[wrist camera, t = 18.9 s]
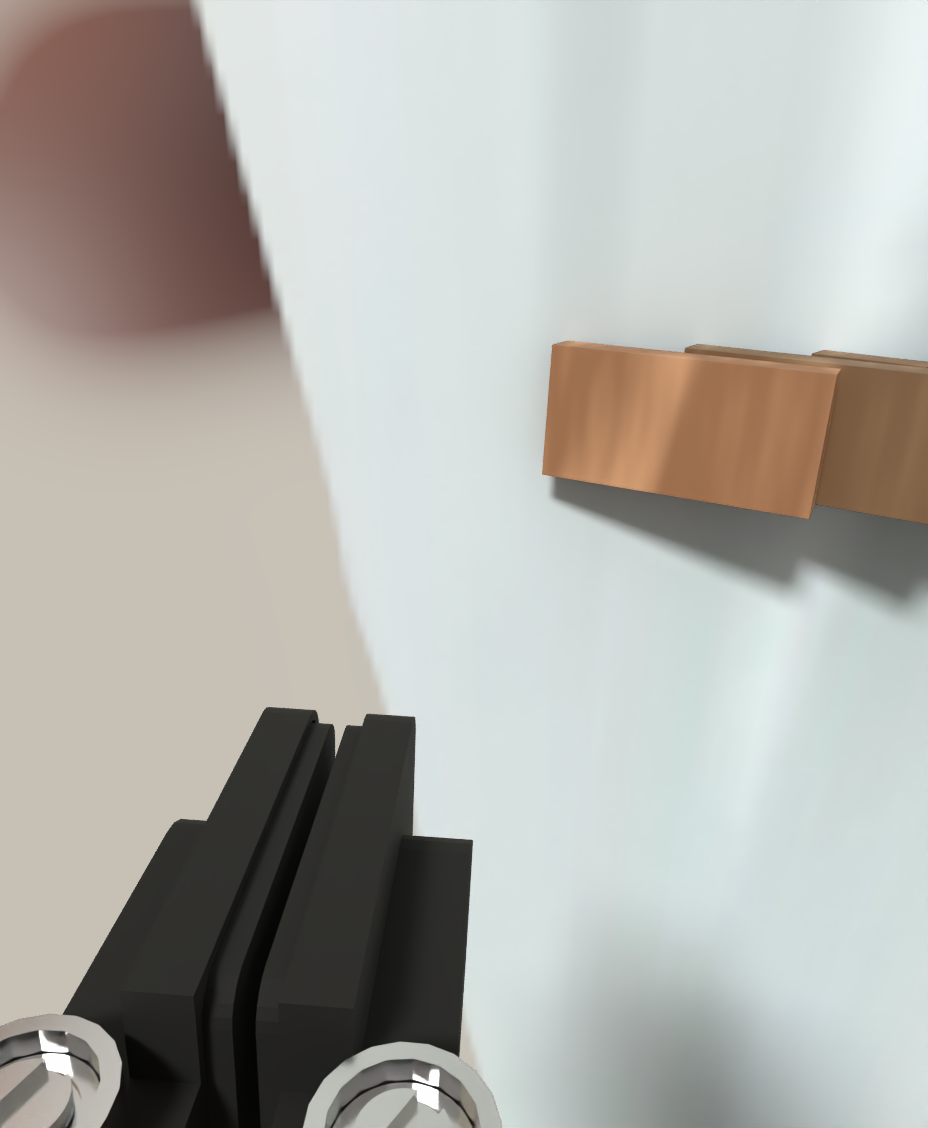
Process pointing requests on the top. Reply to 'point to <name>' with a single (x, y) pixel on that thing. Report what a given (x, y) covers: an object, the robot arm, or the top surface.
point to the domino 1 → (689, 425)
